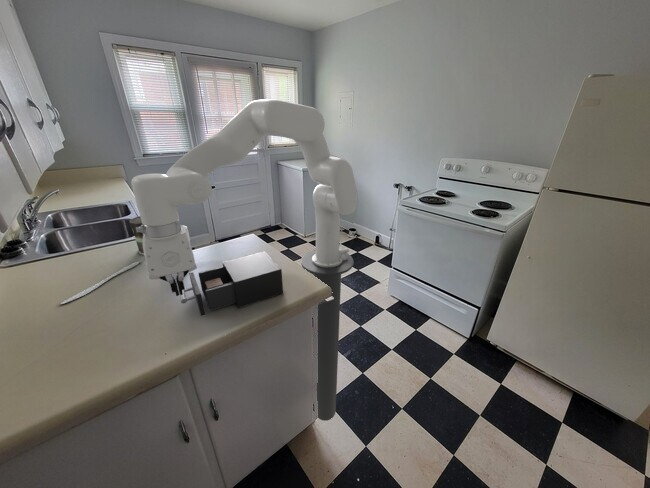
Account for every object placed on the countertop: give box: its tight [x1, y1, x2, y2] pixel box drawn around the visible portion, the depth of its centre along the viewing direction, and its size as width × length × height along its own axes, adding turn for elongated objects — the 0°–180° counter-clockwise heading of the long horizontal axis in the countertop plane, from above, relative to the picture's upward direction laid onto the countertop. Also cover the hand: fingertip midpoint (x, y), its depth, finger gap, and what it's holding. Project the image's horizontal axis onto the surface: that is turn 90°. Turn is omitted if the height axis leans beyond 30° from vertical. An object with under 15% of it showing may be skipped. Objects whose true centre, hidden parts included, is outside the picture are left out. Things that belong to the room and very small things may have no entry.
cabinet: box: [221, 251, 284, 309], centre depth 88 cm, size 15×15×9 cm
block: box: [205, 278, 223, 290], centre depth 82 cm, size 4×4×4 cm
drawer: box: [178, 265, 237, 317], centre depth 82 cm, size 18×13×7 cm
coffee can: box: [129, 215, 145, 256], centre depth 113 cm, size 10×10×14 cm
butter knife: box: [60, 261, 140, 305], centre depth 93 cm, size 1×27×3 cm
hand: (179, 292), depth 71 cm, fingers closed
